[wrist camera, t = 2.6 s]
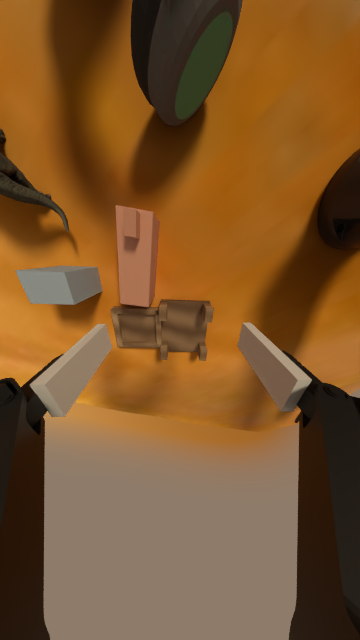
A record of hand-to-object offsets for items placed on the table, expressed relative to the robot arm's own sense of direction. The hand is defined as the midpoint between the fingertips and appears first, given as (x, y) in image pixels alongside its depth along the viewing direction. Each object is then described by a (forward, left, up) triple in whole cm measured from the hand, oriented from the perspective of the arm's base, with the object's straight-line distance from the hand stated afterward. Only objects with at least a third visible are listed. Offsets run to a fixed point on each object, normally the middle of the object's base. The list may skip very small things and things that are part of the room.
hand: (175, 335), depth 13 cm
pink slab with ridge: (-6, -7, -19) cm, 21 cm away
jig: (+9, -4, -19) cm, 21 cm away
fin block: (-2, -20, -19) cm, 27 cm away
